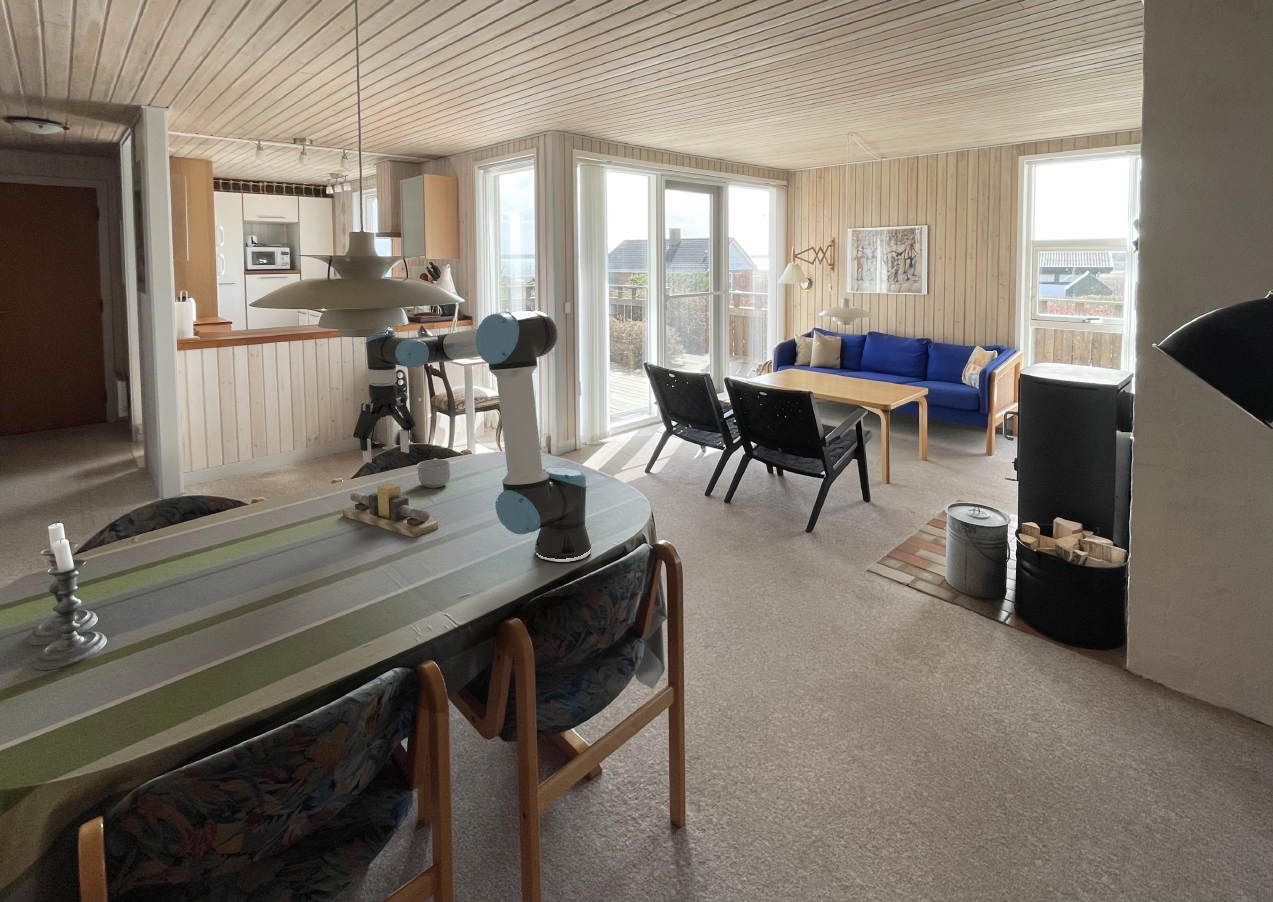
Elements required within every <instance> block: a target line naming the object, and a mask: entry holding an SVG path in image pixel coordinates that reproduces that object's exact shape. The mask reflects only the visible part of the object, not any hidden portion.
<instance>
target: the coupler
mask: <svg viewBox="0 0 1273 902" xmlns="http://www.w3.org/2000/svg"><path fill="white" fill-rule="evenodd" d="M376 489H377V491H376V492H378V510H379V516H381V517H385V518H388V519H391V510H390V501H391V500H394V499H397V498H400V497H402V496H401V495H402V494H401V485H400V484H395V483H391V482H388V483H384V484H382V485H381V484H380V485H378V486H376Z"/></svg>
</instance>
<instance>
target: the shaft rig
mask: <svg viewBox="0 0 1273 902" xmlns="http://www.w3.org/2000/svg"><path fill="white" fill-rule="evenodd" d="M349 498H350V500H351V502H353V503H354V502H355V503H356V504H355V503H354V505H353V506H350V507H348V508H344V509H342V516H343V517H345V518H349V519H351V520H354V519H355V520H354V521H358V522H361V521H362V522H361V523H365V524H367V525H368V524H369V525H370V526H371V525H372V526H375V527H378V528H381V529H384V530H385V529H386V530H388V531H391V532H395V533H399V534H402V535H404V536H408V537H411V538H418V537H420V536H421V535H425V534H427V533H430V532H432V531H435V530H438V529H439V523H438V521H436V520H432V519H430V515H431V514H430V512H429V511H428V510H425V509H422V508H417V507H413V506H410V504H409V501H410V500H409V497H407V496H401V497H400V498H397V499H394V500H391V501H390V510H391V519H388V518H385V517H381V516H379V510H378V491H376V492H373V493H370V494H366V493H362V492H358V491H352V493H351V494H350V496H349Z"/></svg>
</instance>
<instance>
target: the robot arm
mask: <svg viewBox="0 0 1273 902" xmlns="http://www.w3.org/2000/svg"><path fill="white" fill-rule="evenodd" d="M388 328H389V330H388V329H386V332H387V331H388V334H386V335H377V336H372V337H366V336H365V346H366V347H365V349H366V350H365V351H366V363H367V376H368V377H367V378H368V379H367V380H368V383H370V384H369V385H368V395H369V398H370V403H367V402H366V403H364V402H362V403H361V405H360V413H359V416H358V419H357V422H356V425H355V428H354V431H353V434H352V436H353V438H355V439H359V445H360V450H361V451H362V461H363V462H366V463H368V464H369V463H372V462H373V461H372V459H373V457H372V456H373V455H372V441H371V440H372V439H370V438H369V437H370V435H371V433H372V432H373V431H374V428H375V426H376V425H377V423H378V421H379V420H381V418H385V417H392V419H394V421H395V422H396V423H397V424H398V426H399V427H400V428H401V429H399V442H400V444H399V445H400V452H402V453H406V454H409V453H410V443H409V441H411V432H410V431H413V428H415V427H416V422H415V421H414V419H413V416H412V414H411V413H410V410H409V408H408V406H407V403H406V402H407V400H406V398H405V397H402V396H398V385H397V384H396V383H397V380H398V378H397V377H398V376H397V366H401V367H406V368H421V367H423V365H426V364H432V363H433V364H434V363H443V362H452V361H456V360H463V359H464V360H465V359H471V358H473V359H474V358H479V357H481V360H483V361H484V362H486V363H488V371H489V372H490V373H491V374H492V375H494V377H495V378H496V386H497V393H498V403H499V409H500V410H499V411H500V419H501V420H500V421H501V427H502V436H503V443H504V444H503V445H504V451H505V452H504V453H505V460H506V463H505V464H506V468H507V469H506V471H507V474H506V475H505V477H504V478H503V479H501V480H502V489H503V491H502V492H500V494H498V496H497V498H496V500H495V512H496V515H497V518H498V520H499V522H500V523H501V524H502V526H504V527H505V529H506V530H508V531H509V532H510V533H513V534H515V535H525V534H526V535H527V534H529V533H534V532H536V531H538V530H539V533H538V535H537V538H536V540H535V544H534V552H535V551H536V553H538V554H539V555H541V556H543V557H547V558H555V559H566V558H574V557H578V556H581V555H583V554H584V553H586V552H588V551H589V550H590V549H591V550H592V543H591V541H590V537H589V533H588V531H587V530H588V529H587V526H586V505H587V504H586V503H587V501H586V499H587V496H586V495H587V482H586V475H585V474H584V473H583V472H581V471H579V470H576V469H572V468H563V467H548V468H544V469H543V462H542V453H541V446H540V445H541V444H540V435H539V428H538V425H539V424H538V418H537V409H536V407H537V406H536V400H535V399H536V398H535V391H534V390H535V388H534V380H533V372H534V371H535V370H536V368H537V369H538V361H537V360H538V358H540V357H544V356H545V355H547V354H549V353H550V352H552V350H553V348H554V347H555V345H556V344H557V340H558V328H557V325H556V323H555V322H554V320H553V319H552V318H551V317H550V316H549V315H548V314H546V313H545V312H542V311H538V310H526V311H524V310H523V311H501V312H496V313H492V314H489V315H487V316H485V317H484V318H483V319H482V320H481V323H480V324H479V325H478V327H477V328H476V329H470V330H469V329H467V330H462V331H457V332H452V333H443V334H437V335H435V334H434V335H427V336H426V335H425V336H414V337H413V336H411V337H399V336H396V335H395V330H394V329H393V328H392V327H388ZM381 331H384V330H381ZM386 332H379V333H377V334H383V333H386Z"/></svg>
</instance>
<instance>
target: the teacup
mask: <svg viewBox="0 0 1273 902" xmlns="http://www.w3.org/2000/svg"><path fill="white" fill-rule="evenodd" d="M450 463H451V462H450V461H449V460H446V459H441V458H433V459H428V460H423V461H420V462H418V463H417V464H416V468H417V475H418V480H419V483H420V484H421V485H422V486H424V487H426V488H430V489H432V488H433V489H435V488H441V487H443V486H445V485H446V484H447V483H448V482H449V481H450V479H451V466H450V465H451V464H450Z"/></svg>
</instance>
